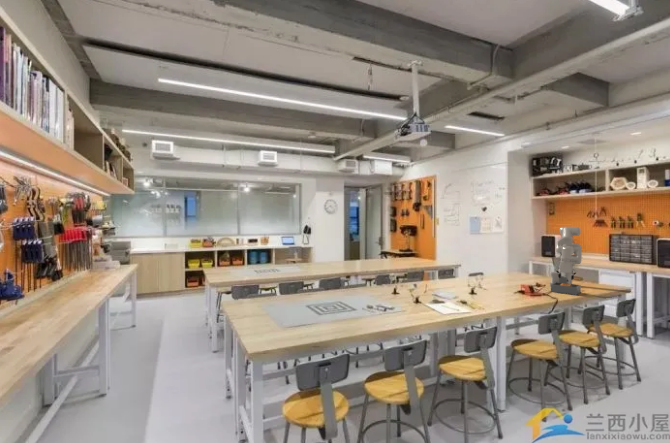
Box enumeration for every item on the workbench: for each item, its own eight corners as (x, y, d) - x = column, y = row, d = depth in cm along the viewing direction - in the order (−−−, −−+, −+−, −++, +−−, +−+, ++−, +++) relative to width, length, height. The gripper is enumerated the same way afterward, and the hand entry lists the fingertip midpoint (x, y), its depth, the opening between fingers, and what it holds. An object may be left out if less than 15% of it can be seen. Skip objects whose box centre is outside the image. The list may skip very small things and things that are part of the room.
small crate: (562, 289, 325) (562, 283, 325) (571, 291, 321) (571, 284, 320) (559, 291, 318) (560, 284, 318) (568, 292, 313) (569, 286, 313)
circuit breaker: (568, 289, 333) (568, 273, 333) (551, 287, 340) (551, 272, 339) (567, 287, 340) (567, 272, 340) (550, 286, 346) (550, 271, 346)
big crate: (555, 289, 333) (555, 282, 333) (580, 292, 319) (580, 285, 319) (550, 292, 320) (550, 284, 320) (576, 295, 306) (576, 287, 306)
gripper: (578, 260, 316) (578, 279, 316) (556, 259, 328) (556, 277, 328) (576, 261, 310) (576, 280, 311) (554, 259, 322) (554, 278, 323)
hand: (565, 278), depth 320 cm, fingers open, 9 cm apart
